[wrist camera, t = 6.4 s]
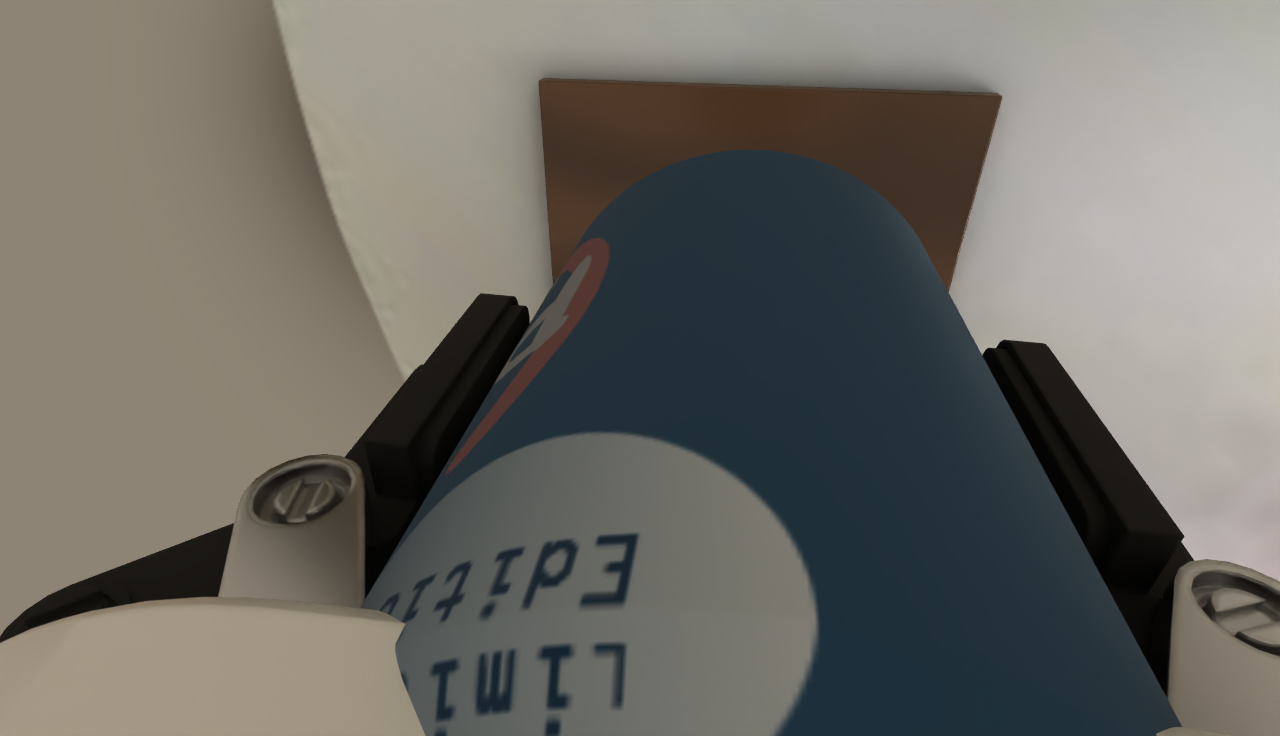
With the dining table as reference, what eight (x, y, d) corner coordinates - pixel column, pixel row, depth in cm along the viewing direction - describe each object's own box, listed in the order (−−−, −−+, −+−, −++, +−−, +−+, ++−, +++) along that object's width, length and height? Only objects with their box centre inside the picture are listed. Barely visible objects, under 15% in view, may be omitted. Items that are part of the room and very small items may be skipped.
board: (542, 77, 25) (538, 80, 25) (998, 92, 23) (1003, 96, 23) (569, 483, 36) (567, 491, 35) (882, 517, 34) (883, 526, 33)
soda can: (546, 147, 13) (-310, 962, 2) (944, 112, 11) (2488, 1507, 1) (601, 443, 16) (339, 1271, 6) (908, 442, 15) (1224, 1494, 5)
